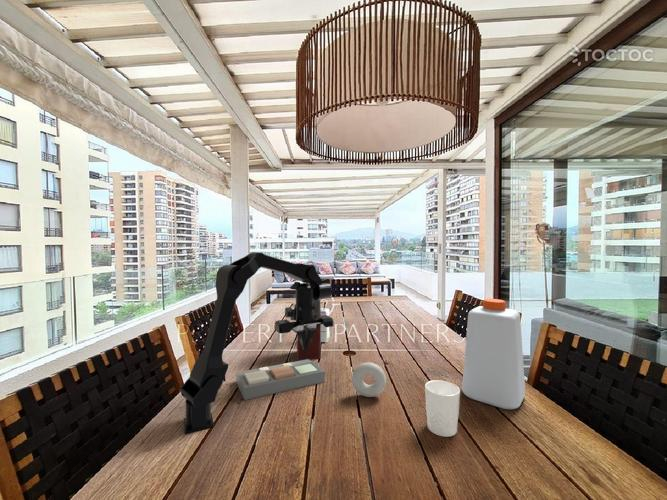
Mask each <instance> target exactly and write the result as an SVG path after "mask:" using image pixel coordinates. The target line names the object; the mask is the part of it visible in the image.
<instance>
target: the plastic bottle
mask: <svg viewBox="0 0 667 500" xmlns="http://www.w3.org/2000/svg"><path fill="white" fill-rule="evenodd" d="M466 326H467V327H466V334H465V335H466V337H465V338H466V339H465V349H464V360H463V370H462V371H463V373H462V384H461V390H462V393H463V394H464V395H465V396H466V397H468V398H469V399H471V400H474V401H478V402H480V403H484V404H486V405H490V406H494V407H497V408H499V409H502V410H503V409H504V410H515V409H518V408H519V407H520V406H521V404H522V402H523V400H524V398H525V396H526V383H525V371H524V369H525V367H524V353H523V339H522V338H523V337H522V323H521V314H520V312H519V311H517V310H516V309H512V308H507V303H506V301H505V300H503V299H498V298H484V299H483V300H482V305H479V306H477V307H474V308H472V309H471V310H470V311H469V312H468V314H467V324H466Z"/></svg>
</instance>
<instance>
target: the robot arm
mask: <svg viewBox="0 0 667 500" xmlns="http://www.w3.org/2000/svg"><path fill="white" fill-rule="evenodd" d="M260 268H262V269H265V270H270V271H274V272H277V273H281V274H284V275H286V276H288V277H289V278H291V279H293V280H295V281H294V282H293V284H291V286H290V287H289V288H290V290H294V291H295V304H294V306H293V307H294V308H292V306H290V307H285V308H284V317H285V318H289V319H290V321H289V320H288V319H281V320H275V322H274V330H275V331H276V332H277V333H279V334H287V333H290V332H291V331H293V332H294V333H295V334H296V336H297V335H298V337H299V339H300V342H301V345H302V348H303V350H307V347H308V345H309V343H310V341H311V338H312V337H313V335H314V333H315V332H316V331H318V329H317V328H316V325H320V324H323V325H324V326H325V327H334V326H335V325H334V322H335V321H334V319H333V318H332V317H331V316H330V315H329V316H327V315H321V316H317V317H316V319H314V318H313V309H315V306H313V300H325V299H330V298H331V297H332V295H333V288H332V286H331V284H330V283H329V279H328V278H321V276H320V275H319V273H318V271H317V269H316V266H315V265H314V264H312V263H311V264H310V263H300V262H299V263H297V262H296V263H295V262H292V261H288V260H285V259H281V258H278V257H274V256H272V255H268V254H265V253H263V252H261V251H259V252H258V251H252V252H250V253H249V254H247V255H245V256H243V257H241V258H240V259H237V260H235V261H233V262H231V263H229V264H224V265H222V266H220V267H218V269H217V271H216V276H215V290H216V291H215V292H216V300H215V303H214V304H215V305H214V308H213V312H212V315H211V316H212V317H211V320H210V324H209V327H208V332H207V334H206V335H207V336H206V340H205V344H204V347H203V350H202V353H201V354H200V355H199V357H197V359H196V360H195V362H194V365H193V366H192V369H191V372H190V374H189V377H188V378H187V379H186V381H185V382H184V383H183V384H182V386H181V387H180V388H179V391H180V394H181V396H182V397H183V398H184V399H185V403H184V404H185V417H184V418H183V432H184V434H188V433H189V434H190V433H193V432H199V431H200V430H204V429H208V428H213V427H214V426H215V424H214V419H213V414H212V412H211V411H212V403H214V402H216V399H217V395H218V393H219V390H220V389H221V387H222V386H223V383H224V382H225V381H226V374H227V371H228V369H229V364H228V363H227V362H225V361H224V359H223V353H224V349H225V345H226V342H227V337H228V332H229V329H230V325H231V321H232V319H233V318H232V317H233V313H234V309H235V306H236V305H235V304H236V301H237V299H238V298H239V297H240V295H241V294H243V292H244V290H245V287H246V285H247V282H248V280H250V278H252V277H253V276H254V275H256V273H257V272H258V271H259V269H260ZM301 282H302V283H301Z"/></svg>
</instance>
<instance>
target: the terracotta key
mask: <svg viewBox="0 0 667 500" xmlns="http://www.w3.org/2000/svg"><path fill="white" fill-rule="evenodd" d="M270 374H271V375H272V377H273V378H274V379H275V380H277V379H282V378H286V377H291V376H294V371H293V370H292V369H291V368H290V367H289V366H288V365H287V366H282V367H277V368H271V369H270Z"/></svg>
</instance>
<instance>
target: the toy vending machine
mask: <svg viewBox="0 0 667 500" xmlns="http://www.w3.org/2000/svg"><path fill="white" fill-rule="evenodd" d="M321 300H322V299H321ZM321 300H313V306H315V309H313V318H314V319H316V317H317V316H321V308H322V307H321V306H322V305H321V304H322V303H321V302H322V301H321ZM316 328H317V329H318V331H316V332H315V333H314V335H313V337H312V338H311V341H310V343H309V345H308V347H307V350H303V348H302V345H301V342H300V339H299V337H298V335H297V334H296V356H297V361H301V360H307V359H309V360H318V359H321V357H322V355H321V353H322V349H321V348H322V347H321V346H322V345H321V344H322V343H321V324H320V325H316Z"/></svg>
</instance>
